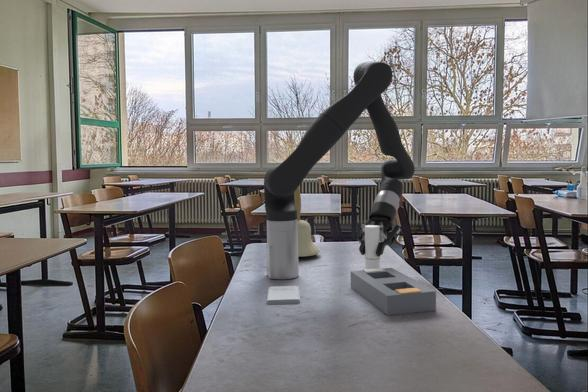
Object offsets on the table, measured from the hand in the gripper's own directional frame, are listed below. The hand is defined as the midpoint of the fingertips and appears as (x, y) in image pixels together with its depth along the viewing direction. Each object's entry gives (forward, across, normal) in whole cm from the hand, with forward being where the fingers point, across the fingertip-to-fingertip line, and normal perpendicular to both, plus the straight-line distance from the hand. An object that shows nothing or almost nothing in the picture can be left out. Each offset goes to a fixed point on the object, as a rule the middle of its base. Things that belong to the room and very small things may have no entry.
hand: (369, 254), depth 140 cm
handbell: (-7, -35, +17) cm, 39 cm away
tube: (+4, 0, +6) cm, 8 cm away
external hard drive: (+24, -13, -13) cm, 30 cm away
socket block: (+16, +12, -6) cm, 21 cm away
